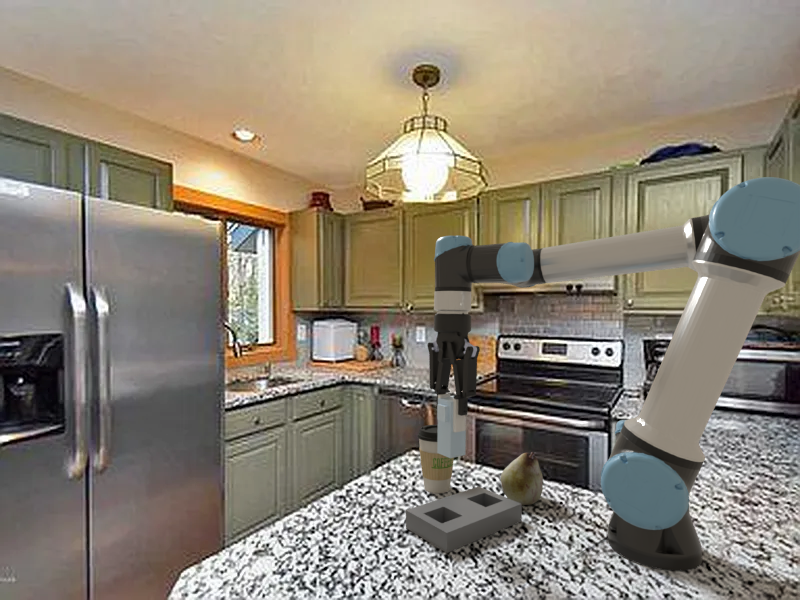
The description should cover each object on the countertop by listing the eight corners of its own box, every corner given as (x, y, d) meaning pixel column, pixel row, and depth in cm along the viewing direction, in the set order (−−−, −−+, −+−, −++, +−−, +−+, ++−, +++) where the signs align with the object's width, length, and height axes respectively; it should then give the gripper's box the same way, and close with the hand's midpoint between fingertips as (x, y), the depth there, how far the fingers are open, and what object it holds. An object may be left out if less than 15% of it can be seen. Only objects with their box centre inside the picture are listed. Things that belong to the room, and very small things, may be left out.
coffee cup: (455, 499, 105) (455, 434, 106) (414, 496, 107) (414, 432, 108) (458, 484, 115) (458, 425, 115) (420, 481, 117) (420, 423, 117)
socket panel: (521, 523, 93) (521, 503, 93) (446, 555, 80) (446, 532, 81) (478, 504, 103) (478, 486, 103) (405, 530, 90) (405, 510, 90)
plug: (465, 454, 90) (466, 399, 91) (447, 459, 88) (447, 402, 88) (452, 449, 94) (452, 396, 94) (434, 453, 91) (434, 398, 91)
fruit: (540, 514, 98) (539, 458, 98) (497, 507, 101) (496, 453, 102) (545, 497, 107) (544, 445, 107) (505, 490, 111) (504, 441, 111)
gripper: (496, 313, 87) (495, 435, 86) (439, 312, 101) (438, 417, 100) (468, 313, 83) (466, 441, 82) (413, 312, 97) (411, 422, 96)
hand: (451, 428), depth 91 cm, fingers closed on plug, 4 cm apart
